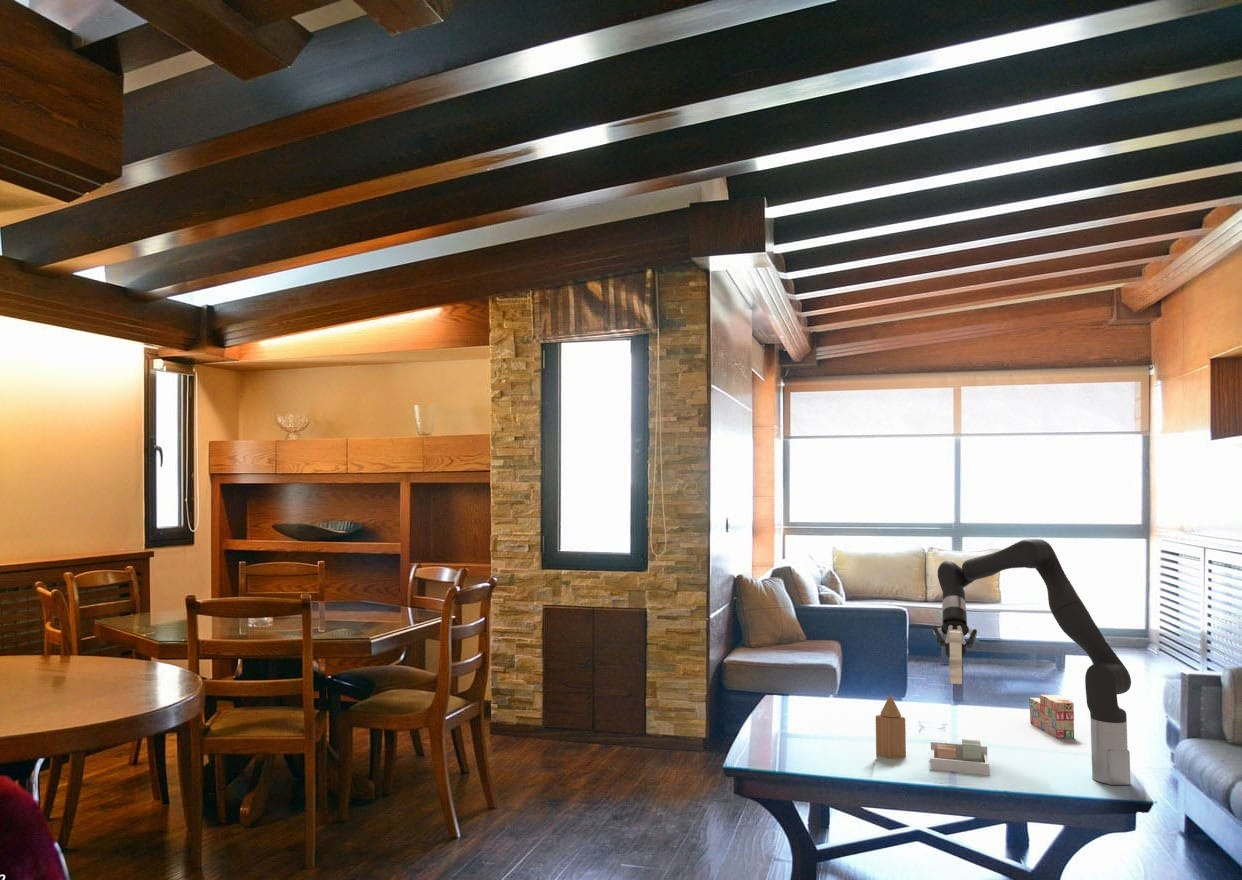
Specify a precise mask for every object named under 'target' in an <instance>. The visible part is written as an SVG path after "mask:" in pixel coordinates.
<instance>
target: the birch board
mask: <svg viewBox="0 0 1242 880" xmlns="http://www.w3.org/2000/svg"><path fill="white" fill-rule="evenodd" d="M949 644H950V657H949V682H950V684H953V685H954V684H955V685H956V684H957V685H962V684H963V663H962V661H963V658H962V642H961V630H958V629H949Z"/></svg>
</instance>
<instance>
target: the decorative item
mask: <svg viewBox="0 0 1242 880" xmlns="http://www.w3.org/2000/svg"><path fill="white" fill-rule="evenodd" d="M906 732H907V731H906V718H905V717H904V716H902V715H901V712H900V710H899V708H898V706H897V704H896V701H895V700H894V698H893V696H892V694H891V693H890V694H889V695H888V697H887V700H886V701H885V703H884V706H883V707H882V708H881V711H880V714H877V715H875V757H876V758H878V755H879V756H881V757H884V758H887V759H891V760H892V759H898V758H905V757H906V756H907V748H906V747H907V743H906V742H907V741H906V737H907V735H906V734H907V733H906Z"/></svg>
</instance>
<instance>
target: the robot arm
mask: <svg viewBox="0 0 1242 880" xmlns="http://www.w3.org/2000/svg"><path fill="white" fill-rule="evenodd" d="M1022 568H1025V569H1035V570H1036V571H1037V572H1038V574H1039V575H1040V577H1041V578H1042V579H1041V580H1042V581H1043V582H1044V584H1045V587H1046V590H1047V591H1046V592H1047V600H1048V605H1049V609H1050V612H1051V614H1052V615H1053V617H1054V620H1055V621H1056V622H1057V624H1058V626H1059V627H1060V629H1061V630H1062V631H1063V632H1064V634H1065V635H1066V636H1067V637H1069V639H1070V640H1072V641H1073V642H1074V643H1076V644H1077V645H1078V646H1079V647H1080V648H1081V649H1082V650H1083V651H1084V652H1085V653H1086V654H1087V655H1088V657H1089V658H1090V660H1091V662H1092V663H1093V664H1092V665H1090V666H1089V667H1088V668H1087V669H1086V671H1085V676H1084V677H1085V678H1084V683H1085V684H1084V685H1085V698H1086V705H1087V709H1088V710H1089V714H1090V719H1089V720H1090V745H1091V746H1090V748H1091V751H1090V752H1091V778H1092V780H1095V782H1099V783H1103V784H1108V785H1110V786H1120V785H1121V786H1126V785H1127V786H1129V785H1131V784H1132V782H1131V781H1132V780H1131V779H1132V778H1131V754H1130V750H1129V749H1128V748H1129V747H1128V725H1127V724H1128V722H1127V719H1128V718H1127V712H1126V710H1124V709H1123V708H1121V707H1120V706H1119V703H1118V695H1122V694H1124V693H1127V692H1128V691H1129V690H1130V689H1131V685H1132V678H1131V676H1130V675H1131V674H1130V672H1129V670H1128V669H1127V668H1126V666H1125V665H1124V663H1123V662H1122V661H1121V659H1120V658H1119V656H1118V655H1117V654H1116V653H1115V652H1114V650H1113V649H1112V647H1111V646H1110V644H1109V643H1108V642H1107V640H1106V638H1105V636H1104V635H1103V634H1102V632H1101V631H1100V629H1099V627H1098V626H1097V624H1096V623H1095V621H1094V620H1093V618H1092V615H1091V613H1090V612H1089V610H1088V609H1087V608H1086V606H1085V604H1084V602H1083V601H1082V600H1081V598H1080V596H1079V595H1078V593H1077V591H1076V589H1075V588H1074V586H1073V584H1071V582H1070V579H1069V578H1068V577H1067V575H1066V573H1065V572H1064V569H1063V567H1062V565H1061V563H1060V560H1059V559H1058V556H1057V554H1056V553H1055V550H1054V549H1053V547H1052V545H1051V544H1050V543H1049V542H1048V541H1045V540H1044V539H1041V538H1040V539H1038V538H1026V539H1021V540H1019V541H1017V542H1014V543H1013V544H1011V545H1009V546H1008V547H1005V548H1003V549H1001V550H997V551H995V552H992V553H988V554H984V555H981V556H977V557H973V558H970V559H967V560H965V561H964V562H963V563H962V565H961V567H960V566H959V565H958V564H956V563H955V562H953V561H951V560H944V561H942V562H941V563H940V565H939V566H938V568H937V580H938V583H939V586H940V589H941V591H942V605H941V610H942V611H941V614H942V615H941V616H942V617H941V618H942V625H941V626H940V627H937V626H933V628H932V629H933V630H932V633H933V635H934V638H935V639H936V641H937V643H938V645H939V646H940V647H944V651H945V652H944V653H945V656H947V658H950V644H949V629H958V630H961V642H962V659H964V658H965V657H966V655H967V648H972V647H973V645H974V642H975V641H976V638H977V636H978V635H977V634H978V630H977V629H970V628H969V625H968V620H967V619H968V617H967V604H966V593H965V590H964V588H966V587H967V586H968V585H970V584H972V583H973V582H974V581H977V580H981V579H984V578H988V577H992V576H994V575H996V574H998V573H1000V572H1002V571H1005V570H1009V569H1022ZM942 633H943V634H944V636H945V640H944V639H943V637H942ZM967 634H968V635H969V637H968V639H967V641H966V640H965V636H967Z"/></svg>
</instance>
